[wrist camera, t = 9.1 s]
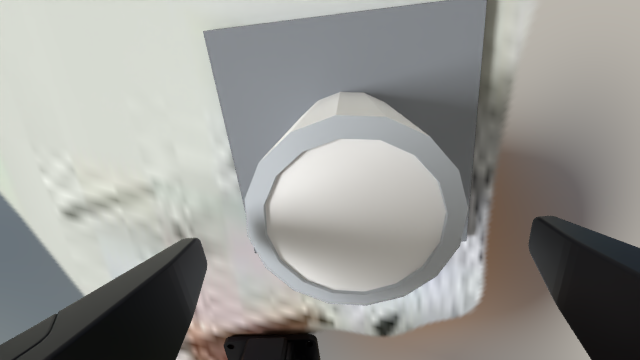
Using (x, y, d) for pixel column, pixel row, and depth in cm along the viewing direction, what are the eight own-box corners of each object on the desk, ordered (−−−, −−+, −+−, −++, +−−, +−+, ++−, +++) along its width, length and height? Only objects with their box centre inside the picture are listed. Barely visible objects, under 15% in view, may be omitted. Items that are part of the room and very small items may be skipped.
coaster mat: (462, 234, 19) (466, 241, 18) (257, 247, 20) (255, 253, 20) (481, -4, 14) (487, -5, 13) (207, 30, 15) (202, 31, 15)
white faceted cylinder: (332, 44, 15) (326, 60, 8) (449, 133, 16) (521, 204, 10) (254, 163, 17) (204, 243, 11) (361, 230, 19) (371, 337, 12)
